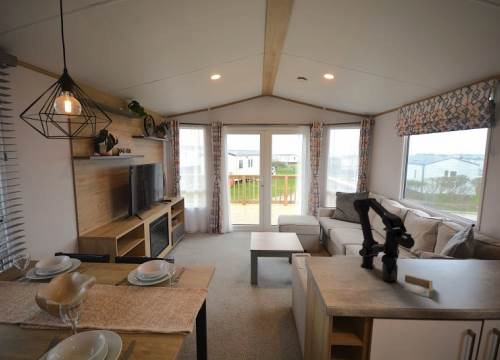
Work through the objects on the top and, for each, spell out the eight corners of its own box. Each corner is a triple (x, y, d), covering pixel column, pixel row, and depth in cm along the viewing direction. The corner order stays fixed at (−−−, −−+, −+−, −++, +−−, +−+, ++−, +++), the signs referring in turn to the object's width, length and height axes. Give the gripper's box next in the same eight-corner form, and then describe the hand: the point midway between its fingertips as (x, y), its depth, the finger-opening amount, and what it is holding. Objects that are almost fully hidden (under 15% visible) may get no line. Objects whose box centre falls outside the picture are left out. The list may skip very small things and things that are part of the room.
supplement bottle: (396, 279, 125) (397, 256, 123) (397, 285, 118) (399, 261, 117) (381, 276, 128) (382, 254, 126) (381, 282, 121) (383, 259, 120)
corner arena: (404, 280, 123) (405, 274, 123) (431, 288, 116) (432, 281, 116) (403, 290, 114) (403, 283, 114) (432, 298, 108) (433, 291, 107)
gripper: (376, 233, 133) (375, 260, 135) (370, 243, 118) (368, 273, 120) (400, 237, 127) (398, 266, 128) (397, 248, 112) (394, 280, 113)
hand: (389, 271), depth 123 cm, fingers closed on supplement bottle, 7 cm apart
